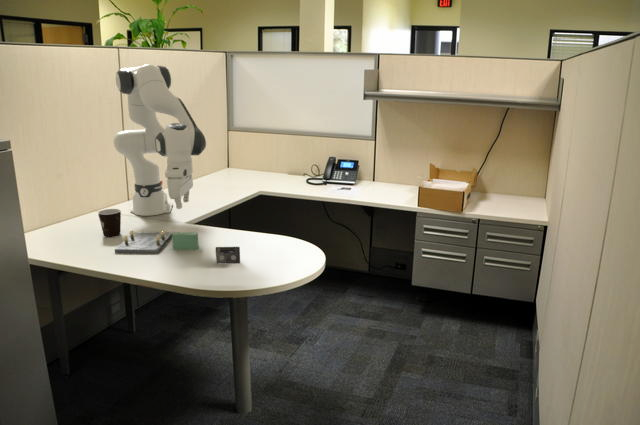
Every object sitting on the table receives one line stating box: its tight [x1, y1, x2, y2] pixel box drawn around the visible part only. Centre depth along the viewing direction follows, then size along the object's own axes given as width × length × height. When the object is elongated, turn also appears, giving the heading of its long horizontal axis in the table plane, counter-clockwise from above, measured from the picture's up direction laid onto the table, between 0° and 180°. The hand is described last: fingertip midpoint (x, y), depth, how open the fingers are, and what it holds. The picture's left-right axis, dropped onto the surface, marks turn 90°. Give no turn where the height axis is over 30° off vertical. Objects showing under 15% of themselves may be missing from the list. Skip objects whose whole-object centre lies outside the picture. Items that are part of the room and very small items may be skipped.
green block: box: [171, 231, 200, 251], centre depth 202 cm, size 3×9×6 cm, turn 89°
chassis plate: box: [114, 230, 174, 254], centre depth 206 cm, size 20×16×4 cm
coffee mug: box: [97, 208, 122, 238], centre depth 216 cm, size 12×9×10 cm
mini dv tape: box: [215, 246, 241, 265], centre depth 187 cm, size 8×2×6 cm, turn 92°
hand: (182, 205), depth 198 cm, fingers open, 8 cm apart
